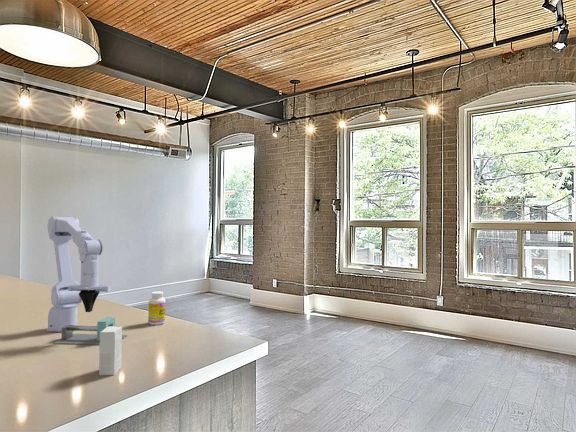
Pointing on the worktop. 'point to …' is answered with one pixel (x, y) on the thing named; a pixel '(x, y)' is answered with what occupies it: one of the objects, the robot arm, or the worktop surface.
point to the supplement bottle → (156, 309)
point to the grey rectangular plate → (82, 339)
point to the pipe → (68, 330)
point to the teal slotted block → (104, 325)
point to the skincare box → (110, 350)
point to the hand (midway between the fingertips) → (88, 311)
